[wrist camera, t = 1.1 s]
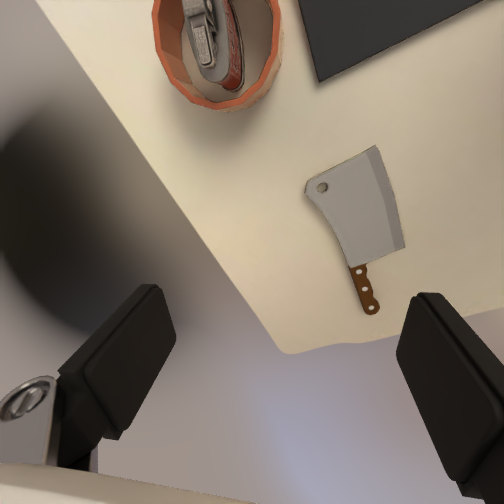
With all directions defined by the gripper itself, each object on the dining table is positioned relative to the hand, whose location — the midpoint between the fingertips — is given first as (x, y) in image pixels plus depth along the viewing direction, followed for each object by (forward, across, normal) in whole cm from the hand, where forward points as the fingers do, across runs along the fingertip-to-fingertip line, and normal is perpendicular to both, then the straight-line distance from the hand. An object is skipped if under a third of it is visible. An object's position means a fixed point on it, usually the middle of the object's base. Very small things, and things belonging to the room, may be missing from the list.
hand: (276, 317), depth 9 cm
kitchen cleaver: (+26, -10, +9) cm, 29 cm away
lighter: (+26, +7, -15) cm, 30 cm away
